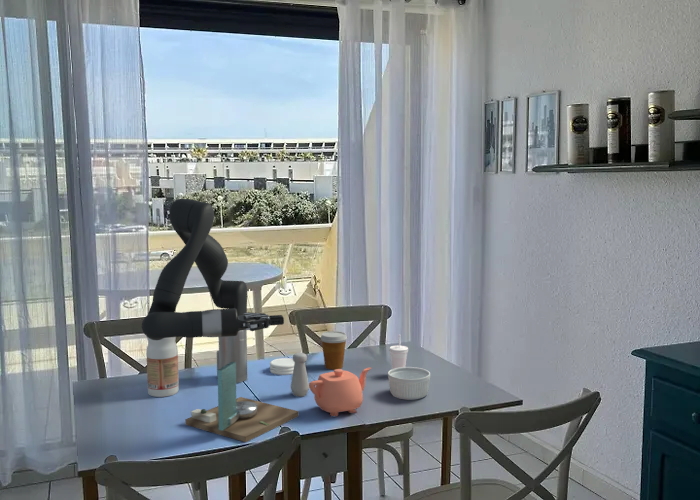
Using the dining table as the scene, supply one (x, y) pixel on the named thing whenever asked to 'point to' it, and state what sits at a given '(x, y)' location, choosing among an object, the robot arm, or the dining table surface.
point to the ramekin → (409, 382)
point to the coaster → (282, 366)
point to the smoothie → (398, 355)
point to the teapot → (339, 391)
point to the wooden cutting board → (243, 421)
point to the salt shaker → (299, 376)
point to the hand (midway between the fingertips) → (282, 319)
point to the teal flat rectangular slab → (231, 398)
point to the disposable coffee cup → (333, 349)
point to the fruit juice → (162, 367)
